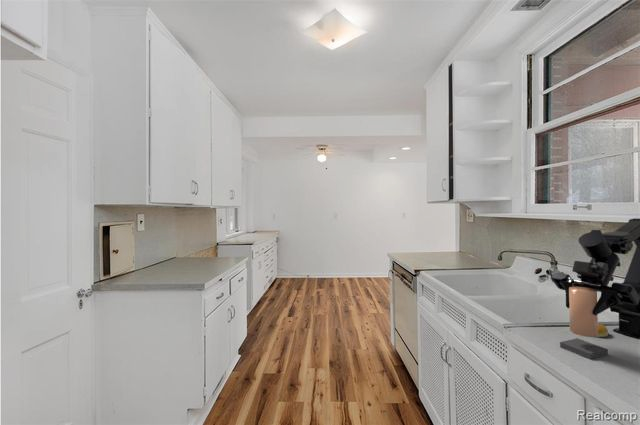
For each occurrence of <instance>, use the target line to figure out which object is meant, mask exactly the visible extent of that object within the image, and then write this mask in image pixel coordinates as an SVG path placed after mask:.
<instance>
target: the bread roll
mask: <svg viewBox="0 0 640 425" xmlns="http://www.w3.org/2000/svg"><path fill="white" fill-rule="evenodd" d="M608 330H609V329H608V328H607V327H606V326H605V325H604V324H602V323H599V322H598V336H597V337H596V338H604V337H608V335H609V331H608Z"/></svg>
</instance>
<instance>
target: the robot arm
mask: <svg viewBox="0 0 640 425" xmlns="http://www.w3.org/2000/svg"><path fill="white" fill-rule="evenodd" d="M633 243H634V244H635V250H634V253H633V256H632V258H631V260H630V263H629V266H628V269H627V272H626V275H625V277H624V280H623V282H621V283H620V282H613V281H614V279H615V278H614V276H613V275H614V272H615V270H616V268H617V267H619V268H620V267H621V262H620V260H621V259H620V257H619V255H627V254H629V253H630V251H632V249H633V247H634V244H633ZM578 244H579V245H580V246H581V248H582V249H583V251H584V252H585V254H586V256H588V257H589V258H591V259H590V261H589V262H588V261H582V260H581V261H580V260H574V262H573V267H572V270H571V271H572V272H573V273H576V274H577V275H576V277H577V278H578V279H580V280H577V279H574V278H572V276H570V274H568V273H567V274H566V273H561V272H554V273H552V275H551V277H550V279H551V281H552V282H553V283H554V285H555V286H556V288H557V289H559V290H563V291H565V307H566V308H567V309H569V287H585V288H590V289H594V290H596V291H597V293H598V292H599V293H600V297H599V298H598V299H597V304H596V306H595V308H594V310H593V314H594V315H597V316H598V315H599V314H601V313H602V312H603V313H604V312H605V311H606V310H608V309H609V310H610V312H612V313H617V314H618V327H615V328H613V329H612V331H613V332H616V333H620V334H622V335H625V336H629V337H632V338H635V339H640V218H637V217H636V218H635V217H634V218H630V219H628V222H627V223H625V224H624V225H622V226H621V227H619V228H618V229H616V230H615V231H609V232H602V231H601V230H600V229H591V231H590V232H585V233H583V235H581V236H579V237H578ZM617 254H618V255H617ZM610 282H612V284H611V286H609V284H610Z"/></svg>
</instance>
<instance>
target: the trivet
mask: <svg viewBox="0 0 640 425" xmlns="http://www.w3.org/2000/svg"><path fill="white" fill-rule="evenodd" d="M559 347H560V348H562V349H564V350H566V351H568V352H571V353H573V354H576V355H579V356H581V357H583V358H586V359H588V360H593V359H596V358H600V357H605V356H608V355H609V349H608V348H606V347H603V346H600V345H597V344H594V343H591V342H589V341H587V340H584V339H581V338H573V339H567V340H564V341H560V342H559Z"/></svg>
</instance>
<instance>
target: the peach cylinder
mask: <svg viewBox="0 0 640 425" xmlns="http://www.w3.org/2000/svg"><path fill="white" fill-rule="evenodd" d="M597 302H598V291H596V290H594V289H590V288H585V287H569V308H568V309H569V331H570V332H571V333H572V334H575V335H577V336H582V337H586V338H598V337H597V336H598V323H599V322H598V320H599V319H598V314H597V315H594V314H593V310H594V308H595V306H596V304H597Z"/></svg>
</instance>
